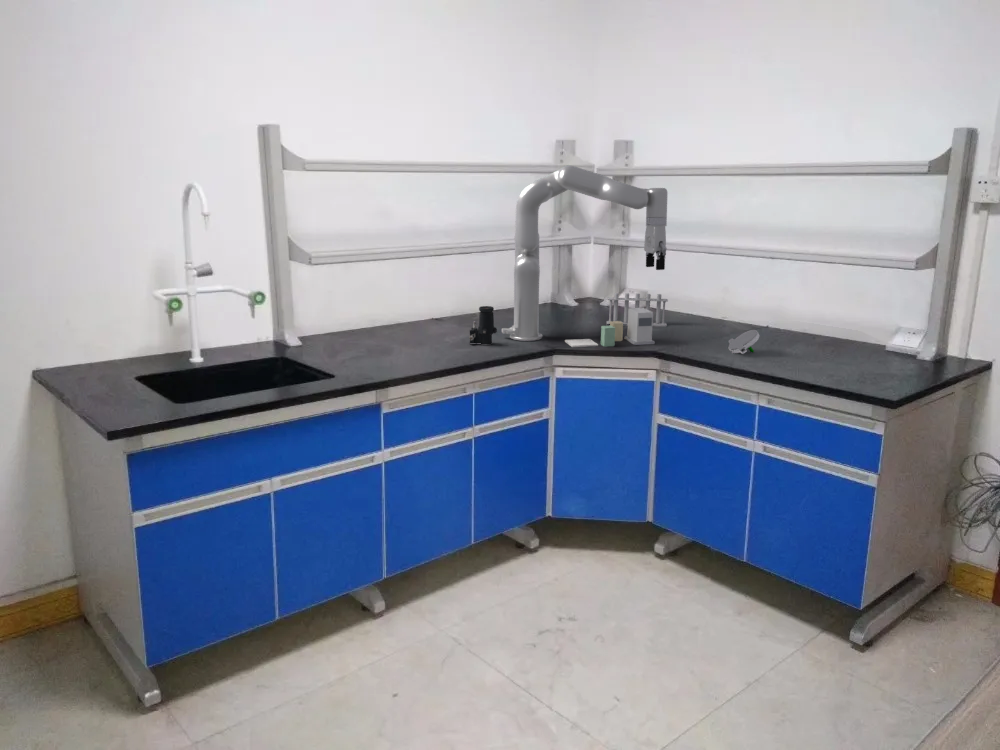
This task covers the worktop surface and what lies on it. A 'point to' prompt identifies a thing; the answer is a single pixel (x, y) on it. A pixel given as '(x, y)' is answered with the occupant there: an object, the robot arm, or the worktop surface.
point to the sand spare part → (617, 329)
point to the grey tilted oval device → (743, 342)
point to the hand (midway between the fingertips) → (655, 268)
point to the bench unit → (639, 326)
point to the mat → (581, 343)
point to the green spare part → (607, 336)
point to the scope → (483, 326)
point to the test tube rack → (637, 301)
